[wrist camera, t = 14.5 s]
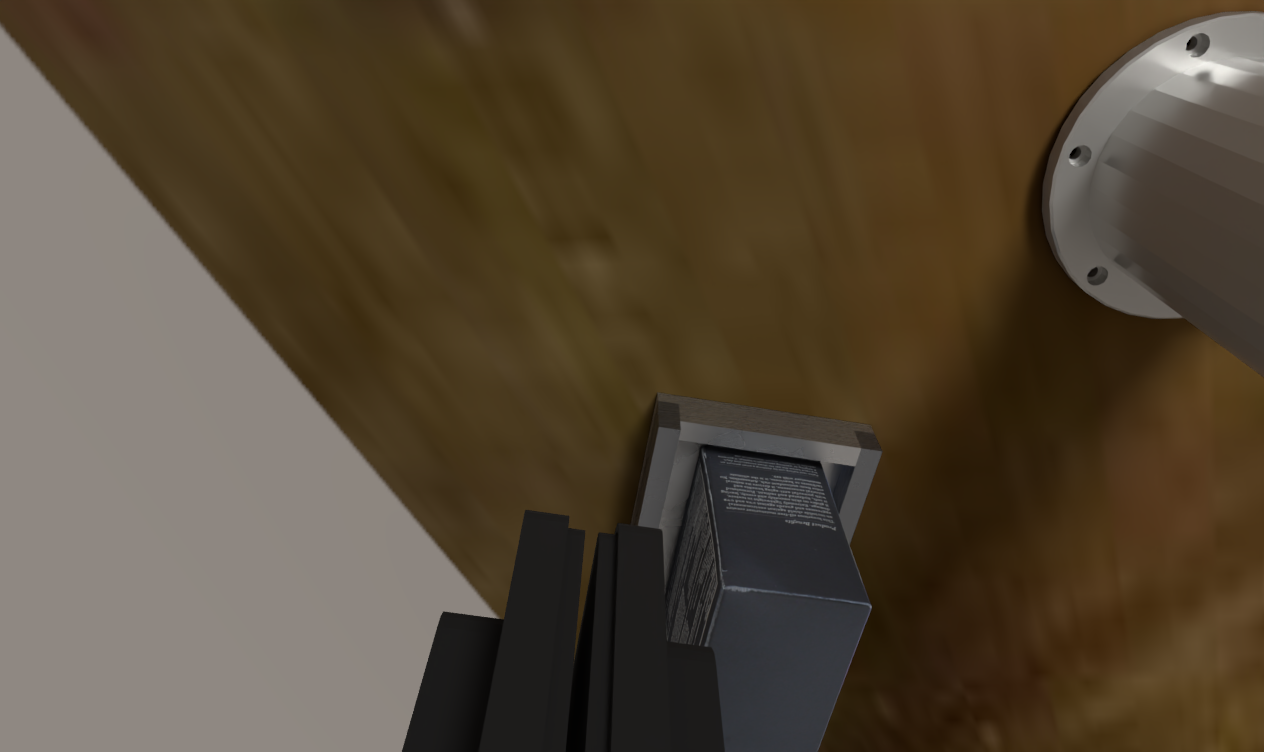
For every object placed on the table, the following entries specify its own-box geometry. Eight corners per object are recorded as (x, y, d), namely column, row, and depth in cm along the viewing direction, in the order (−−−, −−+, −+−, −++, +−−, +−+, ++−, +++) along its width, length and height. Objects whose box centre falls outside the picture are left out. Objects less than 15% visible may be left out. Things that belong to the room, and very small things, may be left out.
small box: (778, 623, 48) (811, 793, 39) (659, 607, 48) (664, 776, 38) (830, 460, 43) (882, 610, 34) (698, 441, 43) (714, 587, 34)
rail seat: (870, 425, 43) (886, 461, 41) (796, 645, 50) (805, 689, 47) (657, 392, 43) (658, 426, 40) (610, 620, 49) (608, 663, 46)
